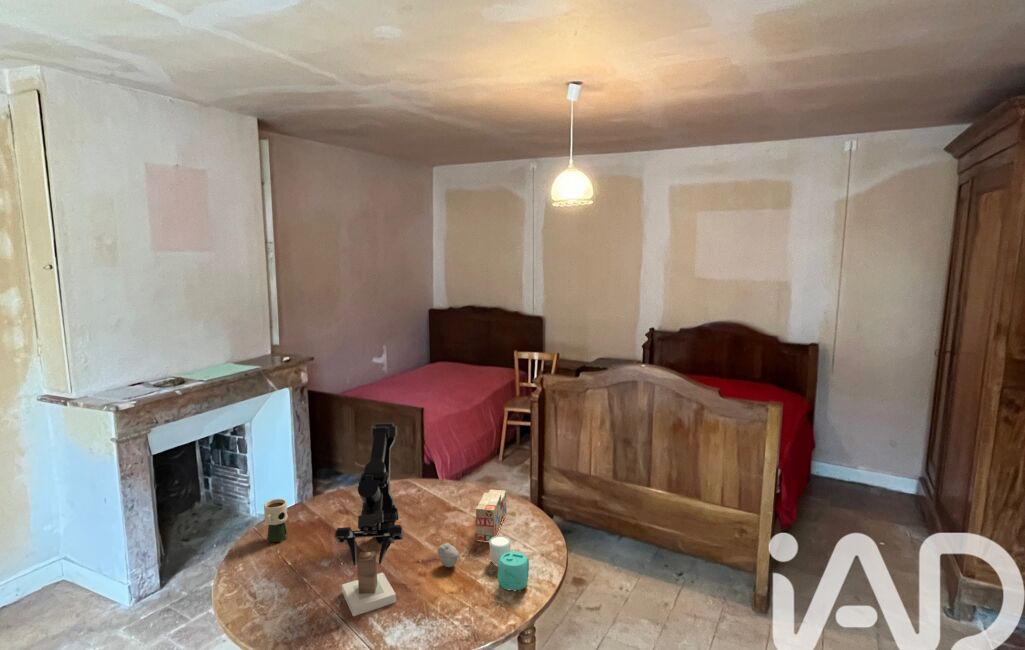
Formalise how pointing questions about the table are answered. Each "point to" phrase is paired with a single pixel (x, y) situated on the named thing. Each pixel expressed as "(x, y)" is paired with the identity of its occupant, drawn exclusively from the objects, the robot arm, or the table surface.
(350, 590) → the baseplate
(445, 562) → the grey rock
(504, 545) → the white cylinder
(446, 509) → the table surface
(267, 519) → the character mug
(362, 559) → the walnut pillar
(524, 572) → the teal lidded canister
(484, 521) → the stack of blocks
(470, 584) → the table surface
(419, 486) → the table surface
